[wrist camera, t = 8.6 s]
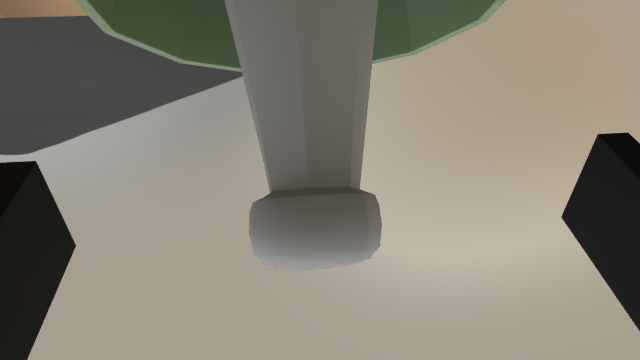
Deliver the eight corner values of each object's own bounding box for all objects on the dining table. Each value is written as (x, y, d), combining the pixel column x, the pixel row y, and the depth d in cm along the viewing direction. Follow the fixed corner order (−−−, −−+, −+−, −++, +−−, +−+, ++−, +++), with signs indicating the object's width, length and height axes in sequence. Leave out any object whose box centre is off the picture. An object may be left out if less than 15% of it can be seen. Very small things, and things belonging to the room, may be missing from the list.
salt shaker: (374, -64, 19) (399, 255, 18) (237, -49, 20) (252, 264, 19) (381, -187, 14) (418, 270, 12) (187, -162, 14) (203, 281, 13)
